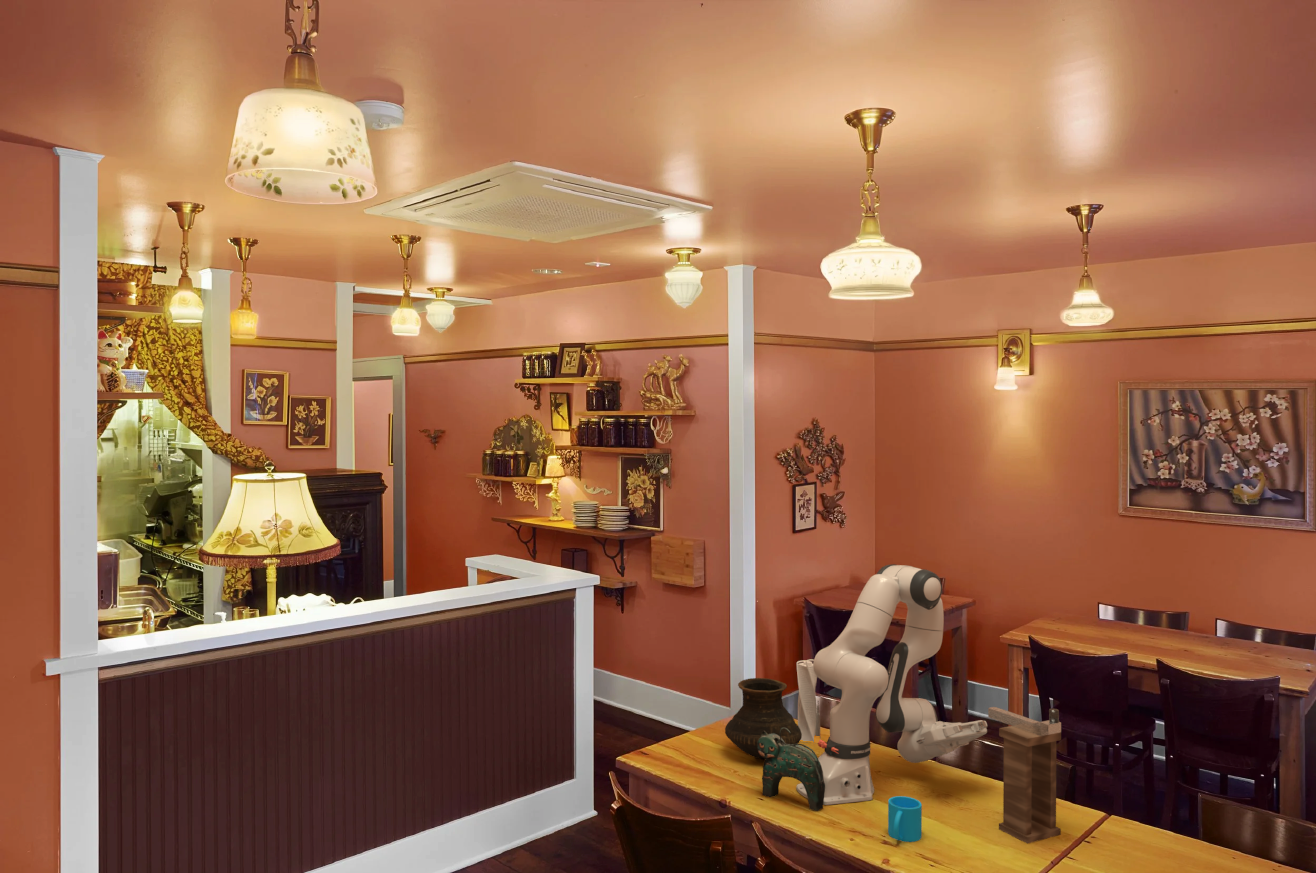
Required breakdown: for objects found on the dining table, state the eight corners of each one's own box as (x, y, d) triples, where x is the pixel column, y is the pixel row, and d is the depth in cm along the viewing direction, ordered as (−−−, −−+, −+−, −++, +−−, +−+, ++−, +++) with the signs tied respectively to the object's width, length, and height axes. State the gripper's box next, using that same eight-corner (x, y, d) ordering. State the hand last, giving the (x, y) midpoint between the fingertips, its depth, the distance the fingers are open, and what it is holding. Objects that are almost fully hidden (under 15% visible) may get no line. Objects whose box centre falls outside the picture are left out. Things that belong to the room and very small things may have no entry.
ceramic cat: (755, 794, 246) (755, 723, 246) (767, 788, 251) (768, 718, 251) (817, 814, 233) (817, 739, 233) (829, 806, 238) (829, 733, 238)
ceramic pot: (711, 756, 276) (711, 685, 276) (750, 737, 295) (750, 670, 295) (778, 774, 261) (778, 699, 262) (814, 752, 281) (814, 682, 281)
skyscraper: (820, 745, 288) (820, 660, 289) (795, 743, 290) (796, 659, 290) (820, 737, 297) (821, 654, 297) (796, 735, 298) (797, 653, 299)
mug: (893, 825, 227) (893, 793, 227) (925, 832, 222) (925, 800, 223) (879, 842, 217) (879, 809, 217) (911, 850, 212) (912, 817, 212)
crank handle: (988, 717, 235) (988, 696, 235) (1007, 713, 238) (1007, 693, 238) (1041, 735, 219) (1041, 714, 219) (1061, 732, 223) (1061, 710, 223)
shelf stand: (1027, 843, 217) (1027, 738, 217) (998, 829, 225) (999, 728, 225) (1060, 834, 222) (1061, 732, 223) (1031, 820, 230) (1031, 722, 231)
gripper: (909, 731, 248) (940, 719, 238) (961, 722, 258) (994, 710, 247) (916, 754, 245) (948, 742, 235) (970, 744, 255) (1003, 732, 244)
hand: (972, 725), depth 241 cm, fingers open, 8 cm apart
